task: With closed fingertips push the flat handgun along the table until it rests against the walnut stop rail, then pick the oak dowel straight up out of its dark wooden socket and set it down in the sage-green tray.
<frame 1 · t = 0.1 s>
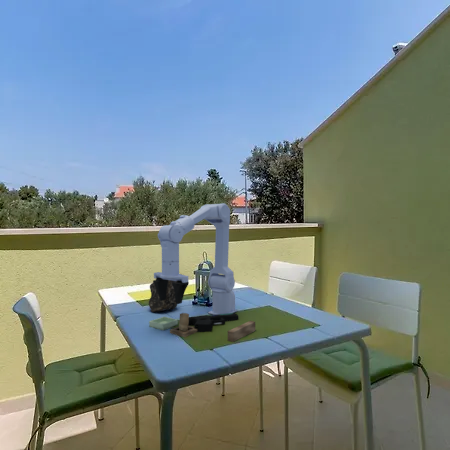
hand: (170, 301, 105), 10 cm above the table, tool pointing down, fingers open, 7 cm apart
stop rail: (242, 335, 101), on the table
socket: (184, 332, 104), on the table
handgun: (216, 326, 112), on the table, touching socket
dowel: (183, 332, 104), resting in socket
tray: (163, 326, 111), on the table
rock: (163, 310, 133), on the table
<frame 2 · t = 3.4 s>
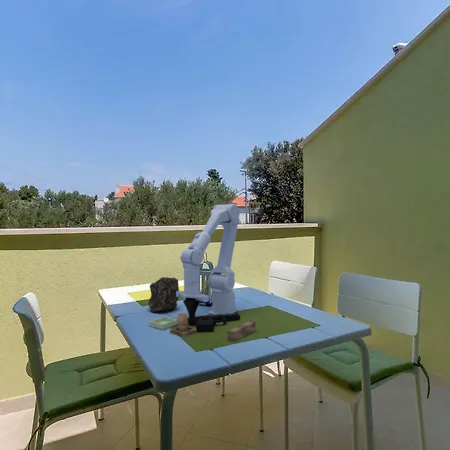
hand: (192, 318, 115), 1 cm above the table, tool pointing down, fingers closed, pressing on handgun
handgun: (218, 326, 112), on the table, touching gripper, socket
everything else where it was.
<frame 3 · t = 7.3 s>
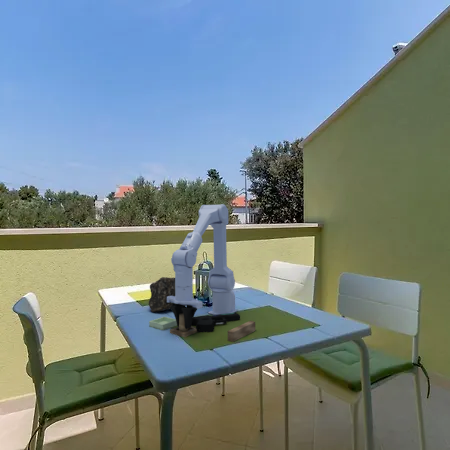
hand: (184, 326, 104), 2 cm above the table, tool pointing down, fingers closed on dowel, 3 cm apart
handgun: (218, 326, 112), on the table, touching socket
dowel: (183, 332, 104), resting in socket, touching gripper
everything else where it was.
when the fingers open (4 cm above the table, at t = 10.5 s): dowel drops 2 cm, resting on tray.
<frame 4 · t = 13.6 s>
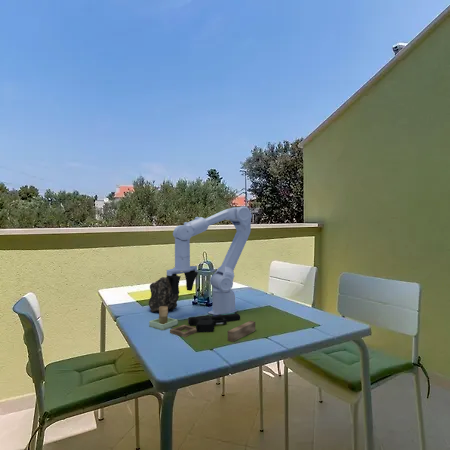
hand: (182, 292, 121), 10 cm above the table, tool pointing down, fingers open, 7 cm apart
dowel: (163, 324, 111), point 1 cm above the table, touching tray
everything else where it was.
at the end: handgun moved 0.6 cm from its start; handgun inside the target area (4.2 cm from its centre), on the table; dowel 0.3 cm off-centre on the tray, point 0.7 cm above the tray's base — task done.
